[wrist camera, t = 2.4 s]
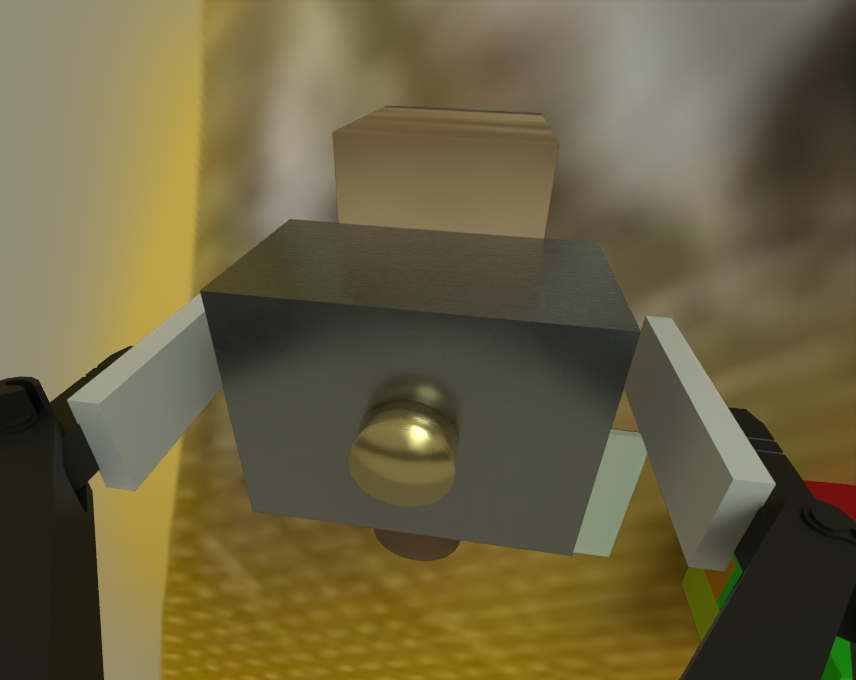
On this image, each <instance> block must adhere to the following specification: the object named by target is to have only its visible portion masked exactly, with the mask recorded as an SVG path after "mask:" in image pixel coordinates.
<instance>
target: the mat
mask: <svg viewBox="0 0 856 680" xmlns="http://www.w3.org/2000/svg"><path fill="white" fill-rule="evenodd" d="M647 454H648V453H647V451H646V448H645V445H644V442H643V439H642V437H641V434H640V433H639V432H630V431H622V430H613V429H611V431H610V434H609V438H608V441H607V444H606V447H605V451H604V454H603V457H602V460H601V464H600V467H599V470H598V473H597V477H596V480H595V483H594V486H593V490H592V493H591V496H590V499H589V503H588V506H587V509H586V512H585V516H584V519H583V522H582V525H581V529H580V532H579V535H578V538H577V542H576V545H575V548H574V551H573V552H576V553H583V554H590V555H597V556H604V557H609V556H610V553H611V550H612V548H613V545H614V542H615V539H616V537H617V534H618V531H619V529H620V526H621V523H622V521H623V518H624V515H625V513H626V510H627V507H628V505H629V502H630V499H631V497H632V494H633V491H634V489H635V486H636V483H637V481H638V478H639V475H640V473H641V470H642V467H643V465H644V462H645V459H646V456H647Z"/></svg>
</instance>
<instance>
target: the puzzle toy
mask: <svg viewBox="0 0 856 680" xmlns="http://www.w3.org/2000/svg"><path fill="white" fill-rule="evenodd" d="M803 481H804V483H805V484H806V486H807V487H808V489H809V490H810V491H811V493H812V494H813V496H814V497H815V499H819V500H822V501H824V502H826V503H829V504H831V505H834V506H835V507H837V508H838V509H840V510H842V511H843V512H845V513H846V514H848V515H849V516H850V517H851V518H852V519H853V520H855V521H856V486H854V485H844V484H834V483H824V482H814V481H805V480H803ZM742 572H743V571H742V569H741V567H740V565H739V563H738V560H737V558H736V556H735V554H734V556H733V558H732V559H731V561H730V563H729V565H728V566H727V568H726V570H725V571H717V570H709V569H702V568H695V567H688V569H687V571H686V573H685V576H684V578H683V580H682V582H681V583H682V586H683V589H684V592H685V595H686V598H687V601H688V604H689V607H690V610H691V613H692V617H693V620H694V623H695V626H696V629H697V632H698V635H699V638H700V641H701V642H702V640H703V638H704V637H705V635H706V633H707V631H708V630H709V628H710V626H711V625H712V623H713V621H714V620H715V618H716V616H717V614H718V613H719V611H720V609H721V608H722V606H723V604H724V602H725V599H726V598H727V596H728V595H729V593H730V591H731V590H732V588H733V587H734V585H735V583H736V582H737V580H738V579H739V577H740V575H741V574H742ZM821 680H853V677H852V664H851V652H850V642H849V641H847V640H844V639H842V638H839V637H837V636H836V639H835V642H834V644H833V647H832V650H831V653H830V656H829V659H828V661H827V664H826V667H825V670H824V673H823V676H822V678H821Z"/></svg>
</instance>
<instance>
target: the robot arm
mask: <svg viewBox="0 0 856 680" xmlns="http://www.w3.org/2000/svg"><path fill="white" fill-rule="evenodd" d="M222 387H223V385H222V381H221V376H220V372H219V368H218V364H217V360H216V356H215V351H214V347H213V343H212V339H211V335H210V331H209V326H208V322H207V318H206V314H205V310H204V306H203V301H202V297H201V293H200V294H198V295H197V296H196V297H195V298H193V299H192V300H191V301H190V302H188V303H187V304H186V305H185V306H183V307H182V308H181V309H180V310H178V311H177V312H176V313H175V314H173V315H172V316H171V317H170V318H168V319H167V320H166V321H165V322H163V323H162V324H161V325H160V326H159V327H157V328H156V329H155V330H154V331H152V332H151V333H150V334H149V335H147V336H146V337H145V338H143V339H142V340H141V341H140V342H138V343H137V344H136V345H135V346H129V347H127V348H125V349H123V350H120V351H118V352H116V353H114V354H112V355H110V356H109V357H108V358H107V359H105V360H104V361H103V362H102V363H100V364H99V365H98V366H97V368H94V369H92V370H91V371H90V372H89V373H87V374H86V377H82V378H81V379H80V380H78V381H77V382H76V383H74V384H73V385H72V386H71V387H69V388H68V389H67V390H66V391H64V392H63V393H62V394H60V395H59V396H58V397H56V398H55V399H54V400H53V401H51V402H49V400H48V399H47V396H46V394H45V392H44V390H43V388H42V386H41V384H40V382H39V380H37V379H35V378H32V377H14V378H8V379H4V380H1V381H0V680H104V674H103V673H104V672H103V657H102V641H101V624H100V607H99V591H98V575H97V558H96V541H95V525H94V508H93V494H92V493H93V492H92V489H91V487H90V485H89V483H88V481H89V480H90V479H91V477H93V476H94V475H95V474H96V472H97V471H98V470H99V471H100V473H101V476H102V478H103V480H104V482H105V484H106V487H110V488H117V489H125V490H132V491H136V489H137V488H138V487H139V486H140V485H141V484H142V482H143V481H144V480H145V479H146V477H147V476H148V475H149V474H150V473H151V472H152V470H153V469H154V468H155V467H156V466H157V464H158V463H159V462H160V461H161V460H162V458H163V457H164V456H165V455H166V454H167V452H168V451H169V450H170V449H171V447H172V446H173V445H174V444H175V443H176V442H177V440H178V439H179V438H180V437H181V436H182V434H183V433H184V432H185V431H186V430H187V428H188V427H189V426H190V425H191V424H192V422H193V421H194V420H195V419H196V418H197V416H198V415H199V414H200V413H201V412H202V410H203V409H204V408H205V407H206V406H207V404H208V403H209V402H210V401H211V400H212V398H213V397H214V396H215V395H216V394H217V392H218V391H219V390H220V389H221V388H222ZM624 389H625V392H626V395H627V398H628V400H629V403H630V406H631V409H632V411H633V414H634V417H635V420H636V423H637V425H638V428H639V431H640V434H641V437H642V439H643V442H644V445H645V448H646V451H647V453H648V456H649V459H650V462H651V465H652V467H653V470H654V473H655V476H656V479H657V481H658V484H659V487H660V490H661V493H662V495H663V498H664V501H665V504H666V507H667V509H668V512H669V515H670V518H671V521H672V523H673V526H674V529H675V532H676V535H677V537H678V540H679V543H680V546H681V548H682V551H683V554H684V557H685V560H686V562H687V565H688V567H695V568H702V569H709V570H717V571H725V570H726V568H727V566H728V565H729V563H730V561H731V559H732V558H733V556H734V554H735V556H736V558H737V560H738V563H739V565H740V567H741V569H742V571H743V572H742V574H741V575H740V577H739V579H738V580H737V582H736V583H735V585H734V587H733V588H732V590H731V591H730V593H729V595H728V596H727V598H726V599H725V602H724V604H723V606H722V608H721V609H720V611H719V613H718V614H717V616H716V618H715V620H714V621H713V623H712V625H711V626H710V628H709V630H708V631H707V633H706V635H705V637H704V638H703V640H702V642H701V643H700V645H699V647H698V649H697V650H696V652H695V654H694V655H693V657H692V659H691V661H690V662H689V664H688V666H687V667H686V669H685V671H684V672H683V674H682V676H681V678H680V679H679V680H821V678H822V676H823V673H824V670H825V667H826V664H827V661H828V659H829V656H830V653H831V650H832V647H833V644H834V642H835V639H836V636H837V637H839V638H842V639H844V640H847V641H849V642H850V652H851V664H852V677H853V680H856V521H855V520H853V519H852V518H851V517H850V516H849V515H848V514H846V513H845V512H843V511H842V510H840V509H838V508H837V507H835V506H834V505H831V504H829V503H826V502H824V501H822V500H819V499H815V497H814V496H813V494H812V493H811V491H810V490H809V489H808V487H807V486H806V484H805V483H804V481H803V480H802V478H801V477H800V476H799V474H798V473H797V471H796V470H795V468H794V467H793V466H792V464H791V463H790V461H789V460H788V458H787V457H786V455H783V451H782V450H781V448H780V447H779V445H778V444H777V443H776V442H774V438H773V437H772V435H771V434H770V432H769V431H768V430H767V428H766V427H765V425H764V424H763V423H762V422H761V421H759V420H758V419H757V418H756V417H754V416H753V415H752V414H751V413H749V412H748V411H747V410H746V409H738V408H729V407H727V405H726V404H725V402H724V401H723V399H722V398H721V396H720V394H719V393H718V391H717V390H716V388H715V386H714V385H713V383H712V382H711V380H710V378H709V377H708V375H707V374H706V372H705V370H704V369H703V367H702V366H701V364H700V362H699V361H698V359H697V358H696V356H695V355H694V353H693V351H692V350H691V348H690V347H689V345H688V343H687V342H686V340H685V339H684V337H683V335H682V334H681V332H680V331H679V329H678V327H677V326H676V324H675V323H674V321H673V320H672V318H665V317H654V316H646V317H645V320H644V323H643V327H642V330H641V333H640V337H639V340H638V343H637V346H636V350H635V353H634V356H633V359H632V363H631V366H630V369H629V372H628V376H627V379H626V382H625V385H624Z"/></svg>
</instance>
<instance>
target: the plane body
mask: <svg viewBox="0 0 856 680" xmlns="http://www.w3.org/2000/svg"><path fill="white" fill-rule="evenodd" d="M333 147H334V162H335V177H336V192H337V206H338V221H339V223H345V224H358V225H371V226H385V227H398V228H411V229H424V230H437V231H450V232H463V233H477V234H490V235H503V236H516V237H529V238H542V239H544V235H545V229H546V223H547V217H548V211H549V205H550V199H551V193H552V187H553V181H554V175H555V169H556V163H557V157H558V151H559V143H558V141H557V140H556V138H555V136H554V134H553V133H552V131H551V129H550V127H549V126H548V124H547V122H546V120H545V119H544V117H543V115H542V114H540V113H520V112H500V111H481V110H461V109H441V108H421V107H402V106H385V107H383V108H381V109H379V110H377V111H375V112H373V113H371V114H369V115H367V116H365V117H362V118H360V119H358V120H356V121H354V122H352V123H350V124H348V125H346V126H344V127H342V128H340V129H338V130H336V131H333ZM374 532H375V535H376V537H377V539H378V540H379V541H380V543H381V544H382V545H383V546H384V547H386V548H387V549H388V550H390V551H391V552H393V553H395V554H397V555H399V556H402V557H404V558H408V559H412V560H419V561H431V560H437V559H441V558H444V557H446V556H448V555H450V554H451V553H453V552H454V551H455V550H456V548H457V547H458V545H459V542H460V540H455V539H448V538H441V537H434V536H426V535H419V534H412V533H405V532H398V531H391V530H384V529H376V528H374Z"/></svg>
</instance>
